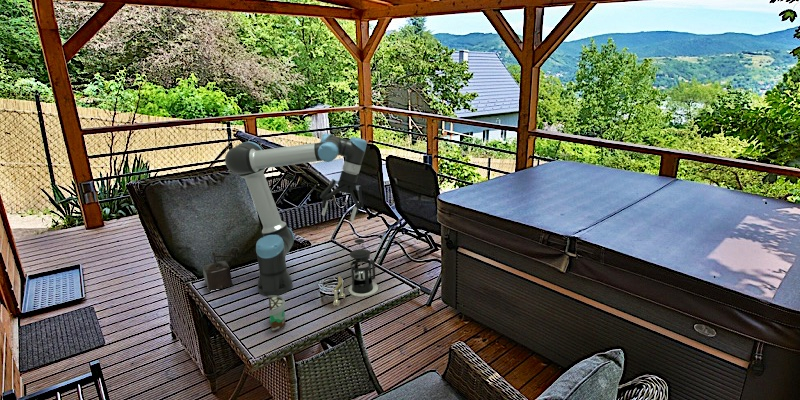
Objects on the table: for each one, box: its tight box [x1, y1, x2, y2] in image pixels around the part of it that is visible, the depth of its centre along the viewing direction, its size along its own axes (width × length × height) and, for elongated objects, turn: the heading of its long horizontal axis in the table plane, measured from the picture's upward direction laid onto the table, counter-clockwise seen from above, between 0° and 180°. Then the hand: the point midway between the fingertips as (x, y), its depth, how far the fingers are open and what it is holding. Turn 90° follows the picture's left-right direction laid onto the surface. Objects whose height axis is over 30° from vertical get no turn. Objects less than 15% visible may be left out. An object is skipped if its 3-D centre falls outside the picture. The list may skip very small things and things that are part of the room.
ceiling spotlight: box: [332, 275, 346, 307], centre depth 191 cm, size 4×13×7 cm, turn 179°
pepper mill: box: [202, 246, 240, 291], centre depth 205 cm, size 16×11×18 cm
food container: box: [267, 295, 287, 333], centre depth 173 cm, size 12×6×10 cm, turn 17°
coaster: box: [348, 281, 379, 298], centre depth 198 cm, size 13×13×1 cm
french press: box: [349, 238, 376, 294], centre depth 195 cm, size 12×9×23 cm
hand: (337, 217), depth 201 cm, fingers open, 13 cm apart
